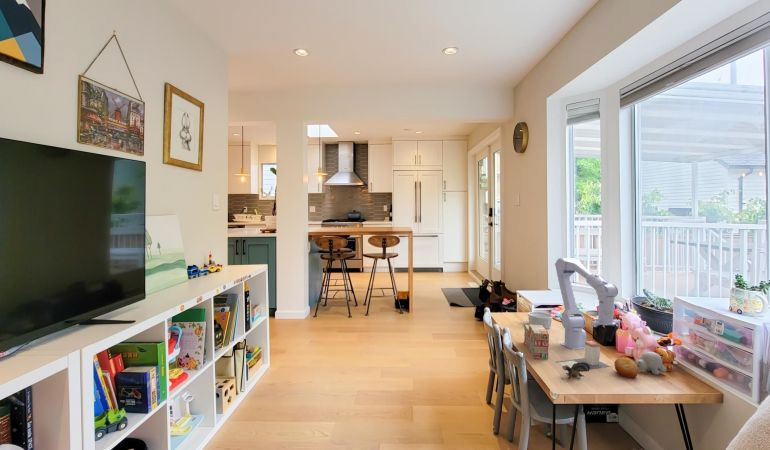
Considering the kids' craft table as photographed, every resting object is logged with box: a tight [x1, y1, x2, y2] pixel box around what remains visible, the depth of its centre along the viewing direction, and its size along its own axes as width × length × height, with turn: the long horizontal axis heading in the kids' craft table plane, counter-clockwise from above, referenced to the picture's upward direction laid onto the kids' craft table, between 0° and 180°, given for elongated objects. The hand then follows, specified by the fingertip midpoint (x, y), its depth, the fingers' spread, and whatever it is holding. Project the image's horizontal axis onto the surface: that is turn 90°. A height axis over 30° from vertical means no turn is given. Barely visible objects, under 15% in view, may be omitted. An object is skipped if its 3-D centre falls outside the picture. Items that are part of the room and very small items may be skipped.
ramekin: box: [527, 311, 553, 330], centre depth 206 cm, size 13×13×7 cm
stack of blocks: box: [523, 323, 550, 360], centre depth 168 cm, size 21×6×12 cm, turn 169°
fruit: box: [614, 357, 638, 378], centre depth 143 cm, size 8×8×8 cm
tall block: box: [584, 340, 601, 365], centre depth 154 cm, size 4×4×9 cm
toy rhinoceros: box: [633, 351, 667, 376], centre depth 146 cm, size 7×12×8 cm, turn 87°
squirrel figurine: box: [562, 362, 591, 380], centre depth 140 cm, size 8×7×9 cm
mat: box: [556, 357, 612, 371], centre depth 152 cm, size 20×10×1 cm, turn 107°
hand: (604, 341), depth 156 cm, fingers open, 4 cm apart
